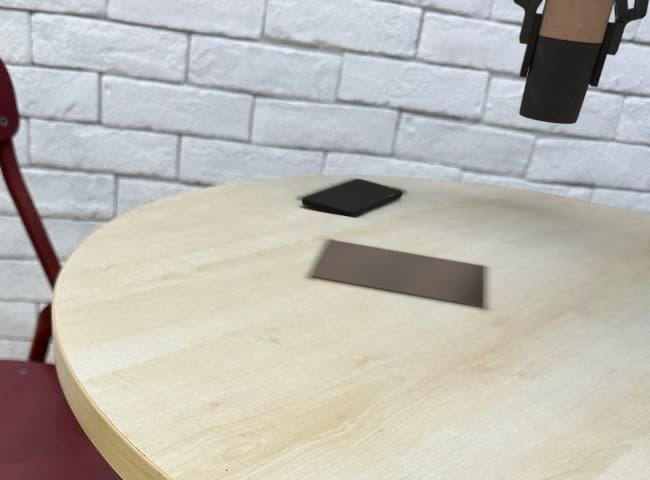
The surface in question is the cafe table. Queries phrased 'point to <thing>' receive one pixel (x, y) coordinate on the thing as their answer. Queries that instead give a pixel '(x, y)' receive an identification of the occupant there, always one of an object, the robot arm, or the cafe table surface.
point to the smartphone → (352, 198)
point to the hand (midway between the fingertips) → (557, 80)
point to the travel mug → (564, 59)
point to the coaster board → (402, 273)
